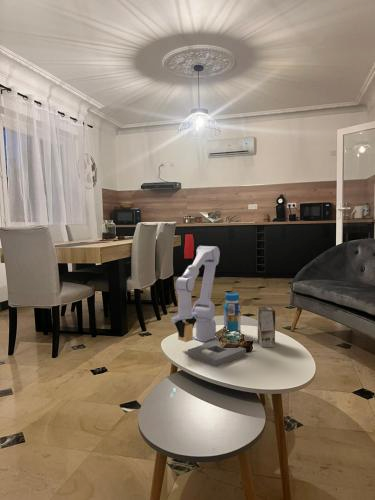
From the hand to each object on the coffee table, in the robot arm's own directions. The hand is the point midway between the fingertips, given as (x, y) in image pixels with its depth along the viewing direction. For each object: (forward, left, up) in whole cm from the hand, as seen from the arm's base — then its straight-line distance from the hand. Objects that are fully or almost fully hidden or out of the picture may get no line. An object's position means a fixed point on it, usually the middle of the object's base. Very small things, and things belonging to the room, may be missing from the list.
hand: (185, 335), depth 155 cm
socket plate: (-5, +14, -6) cm, 16 cm away
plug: (0, 0, -2) cm, 2 cm away
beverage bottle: (-31, 0, -6) cm, 32 cm away
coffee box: (-31, +20, -6) cm, 37 cm away
